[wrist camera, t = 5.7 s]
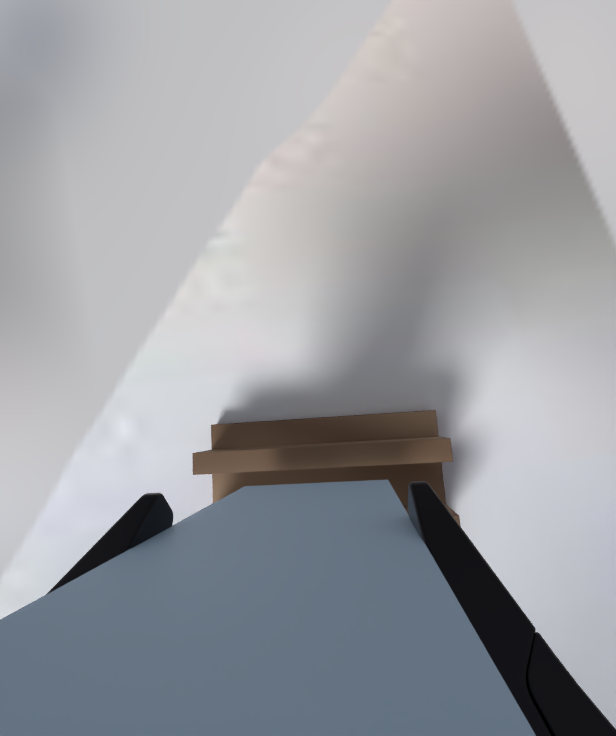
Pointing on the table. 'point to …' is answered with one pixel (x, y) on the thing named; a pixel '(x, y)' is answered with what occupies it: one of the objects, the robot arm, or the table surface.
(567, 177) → the table surface
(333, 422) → the rack
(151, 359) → the table surface
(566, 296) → the table surface
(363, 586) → the board
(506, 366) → the table surface
